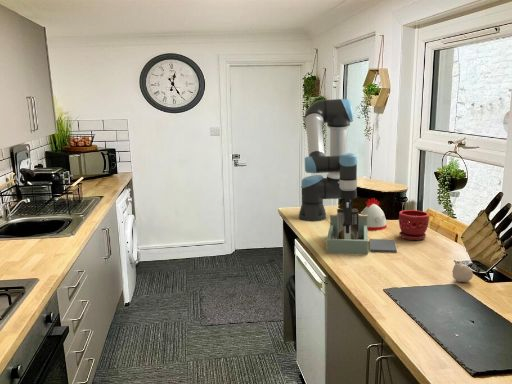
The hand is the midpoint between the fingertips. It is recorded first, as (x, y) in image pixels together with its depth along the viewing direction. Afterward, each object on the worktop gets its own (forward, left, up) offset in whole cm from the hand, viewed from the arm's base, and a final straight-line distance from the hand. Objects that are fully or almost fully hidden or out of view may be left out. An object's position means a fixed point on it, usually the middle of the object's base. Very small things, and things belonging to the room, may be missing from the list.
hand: (347, 235), depth 204 cm
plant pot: (-14, +29, -5) cm, 33 cm away
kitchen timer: (-31, +11, -5) cm, 33 cm away
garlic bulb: (+37, +40, -5) cm, 55 cm away
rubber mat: (+1, +15, -4) cm, 16 cm away
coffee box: (0, 0, -5) cm, 5 cm away
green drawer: (0, 0, -4) cm, 4 cm away
